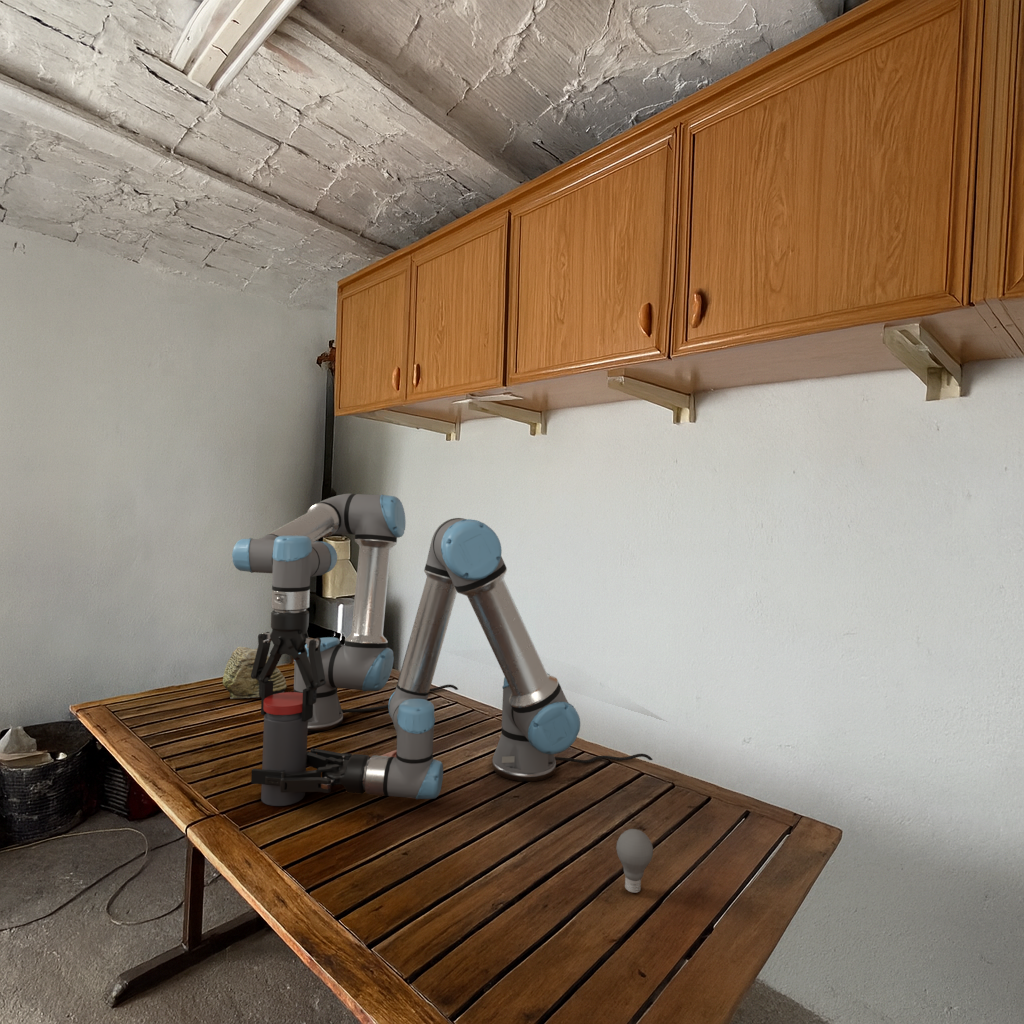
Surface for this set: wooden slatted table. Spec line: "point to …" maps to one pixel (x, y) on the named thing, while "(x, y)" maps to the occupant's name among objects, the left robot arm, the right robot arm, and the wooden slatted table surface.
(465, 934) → the wooden slatted table surface
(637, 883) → the light bulb
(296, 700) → the lid
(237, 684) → the fossil
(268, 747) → the jar
